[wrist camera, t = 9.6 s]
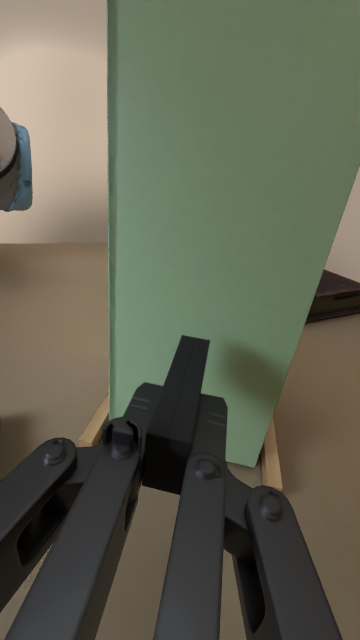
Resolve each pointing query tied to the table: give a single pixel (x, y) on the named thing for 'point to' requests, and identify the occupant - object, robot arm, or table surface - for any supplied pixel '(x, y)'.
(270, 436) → the rails
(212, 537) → the robot arm
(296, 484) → the table surface
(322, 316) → the diary
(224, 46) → the tall green pillar
